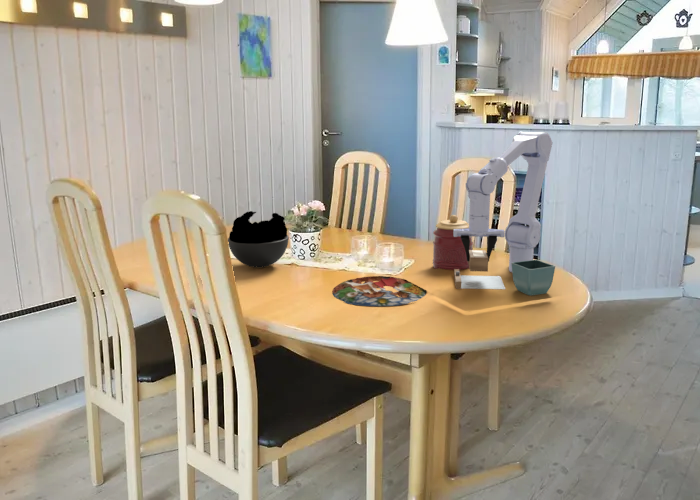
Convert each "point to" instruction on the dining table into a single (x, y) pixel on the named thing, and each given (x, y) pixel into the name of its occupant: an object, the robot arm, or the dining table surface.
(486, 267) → the frame
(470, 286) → the wall panel
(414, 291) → the decorative plaque
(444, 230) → the canister
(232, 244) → the coal bowl
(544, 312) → the dining table surface
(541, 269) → the flower pot
